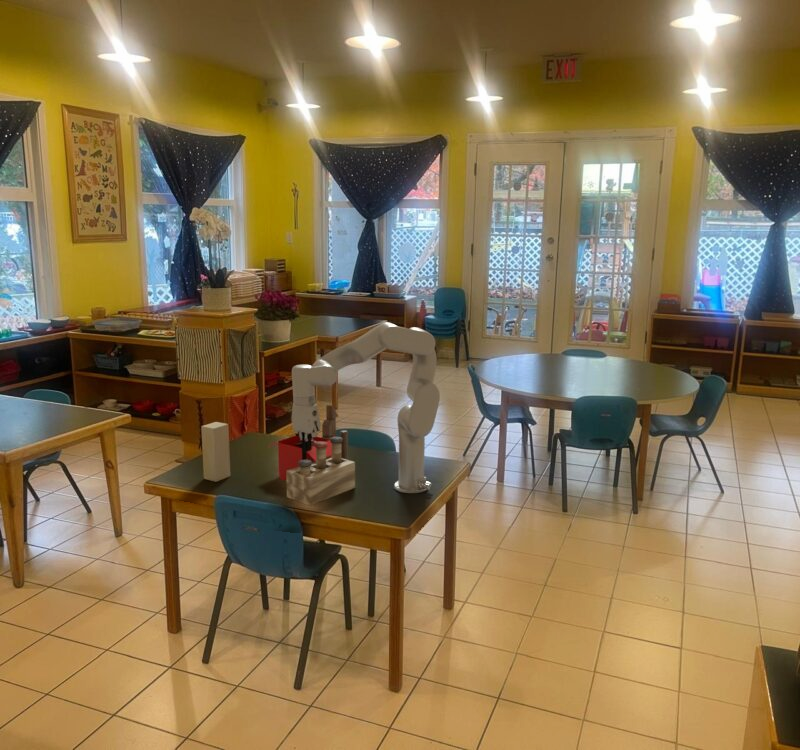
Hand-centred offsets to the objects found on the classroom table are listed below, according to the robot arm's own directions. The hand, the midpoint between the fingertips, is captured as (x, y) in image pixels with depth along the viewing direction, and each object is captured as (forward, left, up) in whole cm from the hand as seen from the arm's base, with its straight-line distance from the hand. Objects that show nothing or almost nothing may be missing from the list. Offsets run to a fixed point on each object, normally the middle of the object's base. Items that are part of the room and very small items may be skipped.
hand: (306, 450), depth 259 cm
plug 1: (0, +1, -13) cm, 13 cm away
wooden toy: (+18, -32, -18) cm, 41 cm away
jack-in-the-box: (+18, -15, -18) cm, 30 cm away
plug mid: (0, -7, -8) cm, 11 cm away
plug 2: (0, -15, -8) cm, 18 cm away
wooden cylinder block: (0, -7, -18) cm, 19 cm away
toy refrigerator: (+42, +8, -18) cm, 47 cm away
